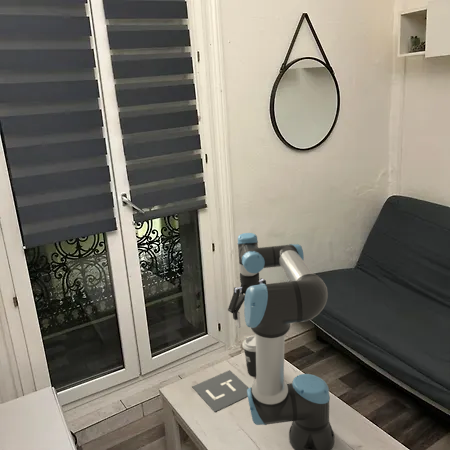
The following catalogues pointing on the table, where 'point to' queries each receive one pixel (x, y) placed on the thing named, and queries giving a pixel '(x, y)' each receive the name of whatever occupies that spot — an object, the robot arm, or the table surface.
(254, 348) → the coffee cup
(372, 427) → the table surface
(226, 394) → the mat
